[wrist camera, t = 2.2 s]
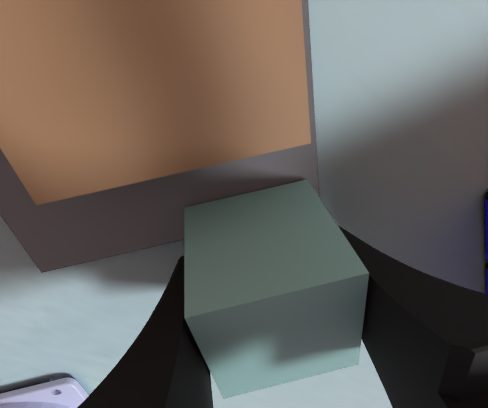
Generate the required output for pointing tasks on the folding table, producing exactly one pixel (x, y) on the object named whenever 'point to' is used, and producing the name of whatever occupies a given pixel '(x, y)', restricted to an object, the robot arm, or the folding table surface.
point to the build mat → (145, 200)
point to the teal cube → (271, 288)
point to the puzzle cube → (487, 232)
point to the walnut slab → (146, 88)
